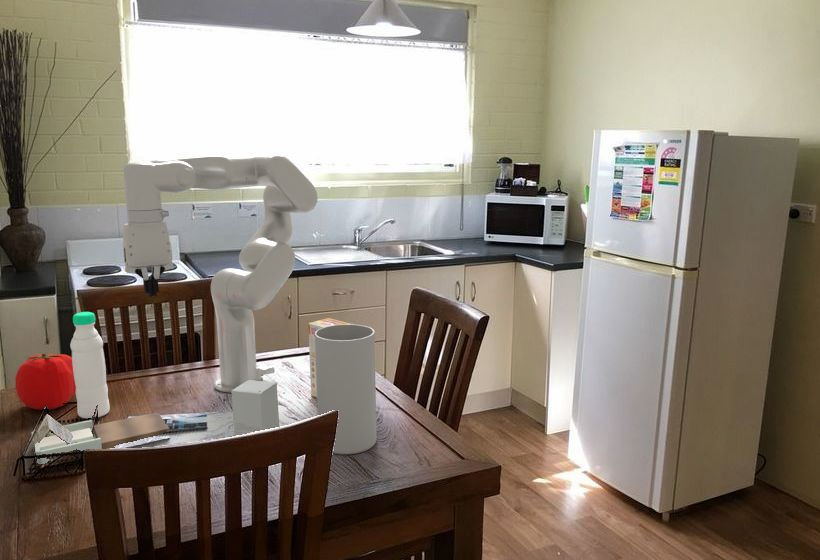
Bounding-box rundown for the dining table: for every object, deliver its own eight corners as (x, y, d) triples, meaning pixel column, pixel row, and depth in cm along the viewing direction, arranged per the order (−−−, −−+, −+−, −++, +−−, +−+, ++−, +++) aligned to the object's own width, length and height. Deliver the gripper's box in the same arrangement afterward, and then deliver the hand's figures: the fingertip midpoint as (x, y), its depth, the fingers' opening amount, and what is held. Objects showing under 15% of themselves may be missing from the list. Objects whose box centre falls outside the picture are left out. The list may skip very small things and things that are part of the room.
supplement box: (281, 435, 156) (278, 382, 153) (263, 449, 149) (260, 393, 146) (252, 431, 158) (249, 378, 155) (233, 445, 151) (230, 389, 148)
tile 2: (91, 438, 153) (90, 427, 153) (94, 446, 149) (93, 436, 149) (66, 443, 151) (64, 433, 150) (68, 452, 147) (67, 441, 146)
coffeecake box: (370, 402, 174) (368, 327, 170) (349, 411, 169) (347, 333, 165) (331, 388, 184) (328, 316, 180) (309, 395, 179) (307, 322, 175)
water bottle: (98, 420, 165) (87, 318, 159) (71, 418, 166) (60, 316, 161) (116, 409, 171) (106, 310, 166) (90, 407, 173) (80, 309, 168)
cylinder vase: (341, 426, 160) (338, 321, 155) (387, 438, 154) (385, 329, 149) (307, 447, 149) (302, 335, 144) (355, 461, 143) (352, 344, 138)
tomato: (37, 421, 164) (30, 366, 162) (5, 409, 172) (-2, 356, 169) (97, 400, 177) (91, 348, 175) (65, 390, 185) (59, 340, 182)
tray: (93, 434, 157) (92, 419, 156) (102, 454, 147) (100, 438, 146) (33, 447, 151) (31, 431, 150) (38, 469, 141) (36, 452, 140)
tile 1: (65, 444, 151) (63, 433, 150) (67, 453, 147) (66, 441, 146) (39, 449, 148) (37, 438, 148) (40, 458, 144) (39, 447, 143)
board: (158, 421, 164) (157, 412, 163) (170, 438, 155) (169, 428, 154) (93, 435, 156) (92, 425, 156) (102, 454, 147) (101, 443, 147)
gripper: (174, 213, 167) (180, 288, 170) (107, 217, 159) (114, 296, 163) (182, 216, 160) (188, 294, 164) (113, 221, 153) (120, 302, 156)
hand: (151, 295), depth 163 cm, fingers closed
